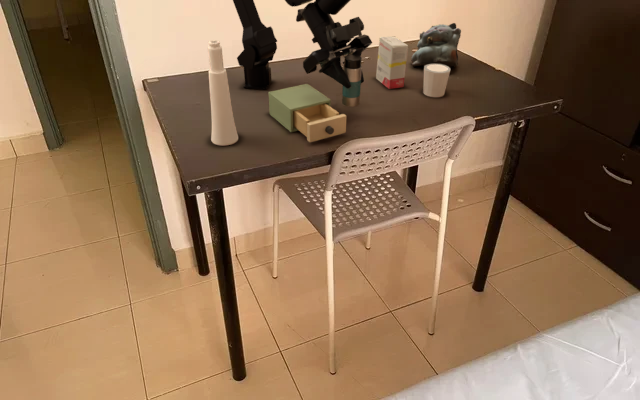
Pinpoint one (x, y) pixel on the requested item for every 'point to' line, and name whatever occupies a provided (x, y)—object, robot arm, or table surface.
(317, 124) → the drawer
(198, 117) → the table surface
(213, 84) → the cosmetic bottle
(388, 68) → the ink box
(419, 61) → the lucky cat figurine
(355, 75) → the thermos flask
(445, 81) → the white cylinder
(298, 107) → the drawer unit
